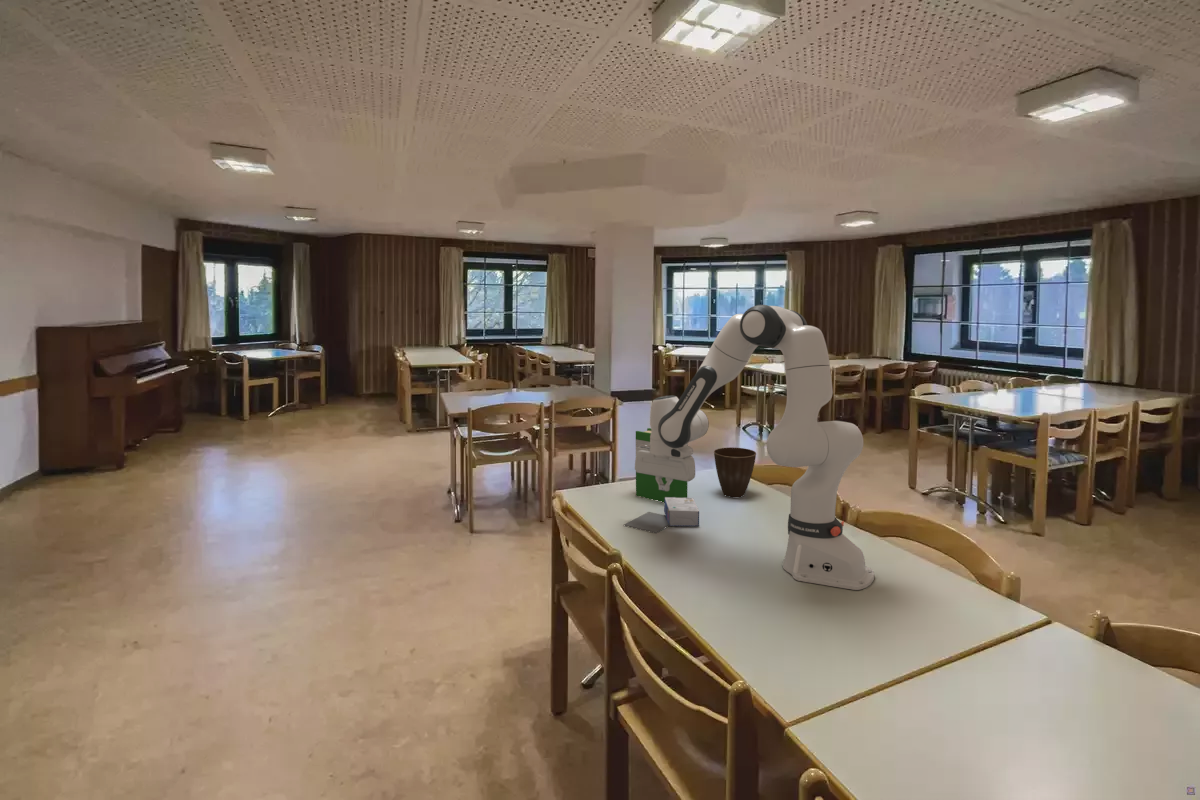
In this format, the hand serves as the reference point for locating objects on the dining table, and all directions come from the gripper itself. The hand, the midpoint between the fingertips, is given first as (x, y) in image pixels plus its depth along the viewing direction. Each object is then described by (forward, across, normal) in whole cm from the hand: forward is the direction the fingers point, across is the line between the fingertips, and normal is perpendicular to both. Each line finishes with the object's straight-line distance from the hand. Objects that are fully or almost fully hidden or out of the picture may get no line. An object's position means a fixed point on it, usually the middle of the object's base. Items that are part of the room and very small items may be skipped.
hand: (664, 490), depth 201 cm
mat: (+11, -4, 0) cm, 12 cm away
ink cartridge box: (+9, +6, +2) cm, 11 cm away
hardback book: (+12, -15, +24) cm, 31 cm away
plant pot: (+12, +5, +42) cm, 44 cm away
